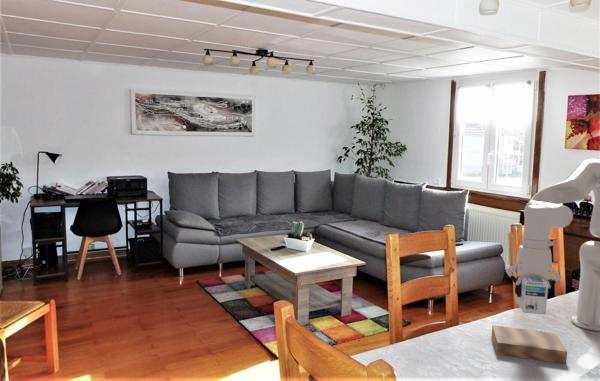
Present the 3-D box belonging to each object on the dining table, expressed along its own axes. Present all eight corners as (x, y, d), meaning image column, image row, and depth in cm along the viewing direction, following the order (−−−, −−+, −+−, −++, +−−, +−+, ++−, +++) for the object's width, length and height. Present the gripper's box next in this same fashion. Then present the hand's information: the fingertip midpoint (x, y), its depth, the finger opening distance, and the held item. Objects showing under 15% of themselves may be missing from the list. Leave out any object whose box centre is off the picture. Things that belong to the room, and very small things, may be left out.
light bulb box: (546, 315, 146) (549, 282, 144) (523, 313, 147) (526, 280, 146) (536, 303, 156) (539, 272, 155) (514, 301, 157) (517, 270, 156)
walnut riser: (555, 344, 157) (556, 333, 157) (566, 363, 144) (567, 351, 143) (491, 336, 163) (492, 325, 162) (496, 354, 149) (497, 342, 149)
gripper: (562, 243, 150) (557, 296, 152) (504, 239, 155) (500, 290, 157) (569, 249, 143) (563, 304, 145) (508, 244, 148) (503, 298, 150)
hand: (531, 296), depth 151 cm, fingers closed on light bulb box, 7 cm apart
